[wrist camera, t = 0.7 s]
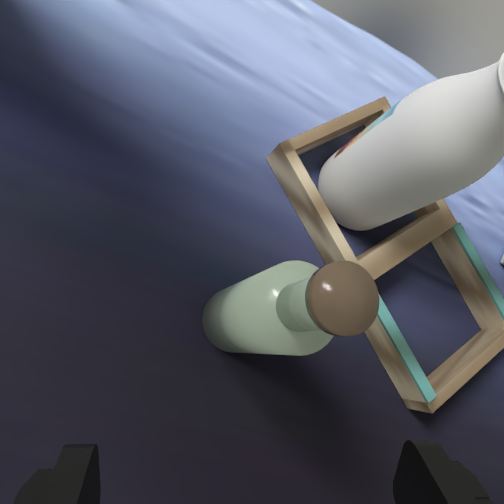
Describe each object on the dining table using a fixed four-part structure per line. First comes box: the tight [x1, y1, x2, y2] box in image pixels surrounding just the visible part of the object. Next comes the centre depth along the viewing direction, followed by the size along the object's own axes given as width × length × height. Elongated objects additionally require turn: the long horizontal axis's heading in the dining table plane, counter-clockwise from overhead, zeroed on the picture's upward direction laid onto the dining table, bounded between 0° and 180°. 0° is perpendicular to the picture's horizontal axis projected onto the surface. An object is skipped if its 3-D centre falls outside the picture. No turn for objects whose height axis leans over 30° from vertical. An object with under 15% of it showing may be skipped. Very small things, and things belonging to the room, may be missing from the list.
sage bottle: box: [202, 261, 379, 356], centre depth 26 cm, size 5×5×17 cm
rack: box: [266, 97, 504, 413], centre depth 38 cm, size 25×12×3 cm, turn 31°
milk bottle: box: [318, 53, 504, 231], centre depth 31 cm, size 8×8×20 cm
